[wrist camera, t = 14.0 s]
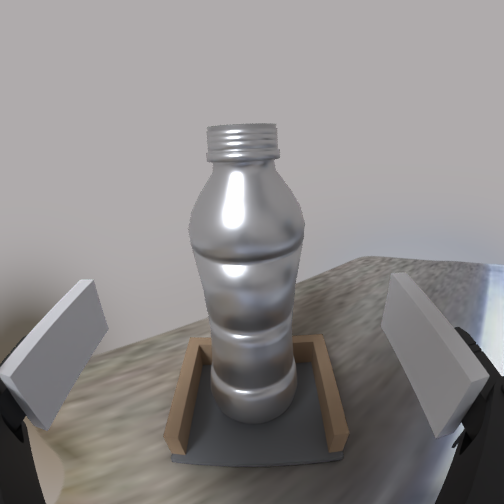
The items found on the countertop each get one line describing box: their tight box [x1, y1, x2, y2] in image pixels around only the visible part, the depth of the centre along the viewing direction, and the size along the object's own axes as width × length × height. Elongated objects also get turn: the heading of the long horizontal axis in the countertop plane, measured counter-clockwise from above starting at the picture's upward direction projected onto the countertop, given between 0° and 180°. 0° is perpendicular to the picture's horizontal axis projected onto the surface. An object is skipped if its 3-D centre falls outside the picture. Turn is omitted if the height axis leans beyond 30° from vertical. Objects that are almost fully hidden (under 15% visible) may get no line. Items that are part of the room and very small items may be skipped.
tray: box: [163, 334, 349, 467], centre depth 22 cm, size 12×12×3 cm
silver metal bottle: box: [188, 124, 305, 424], centre depth 18 cm, size 6×7×20 cm
